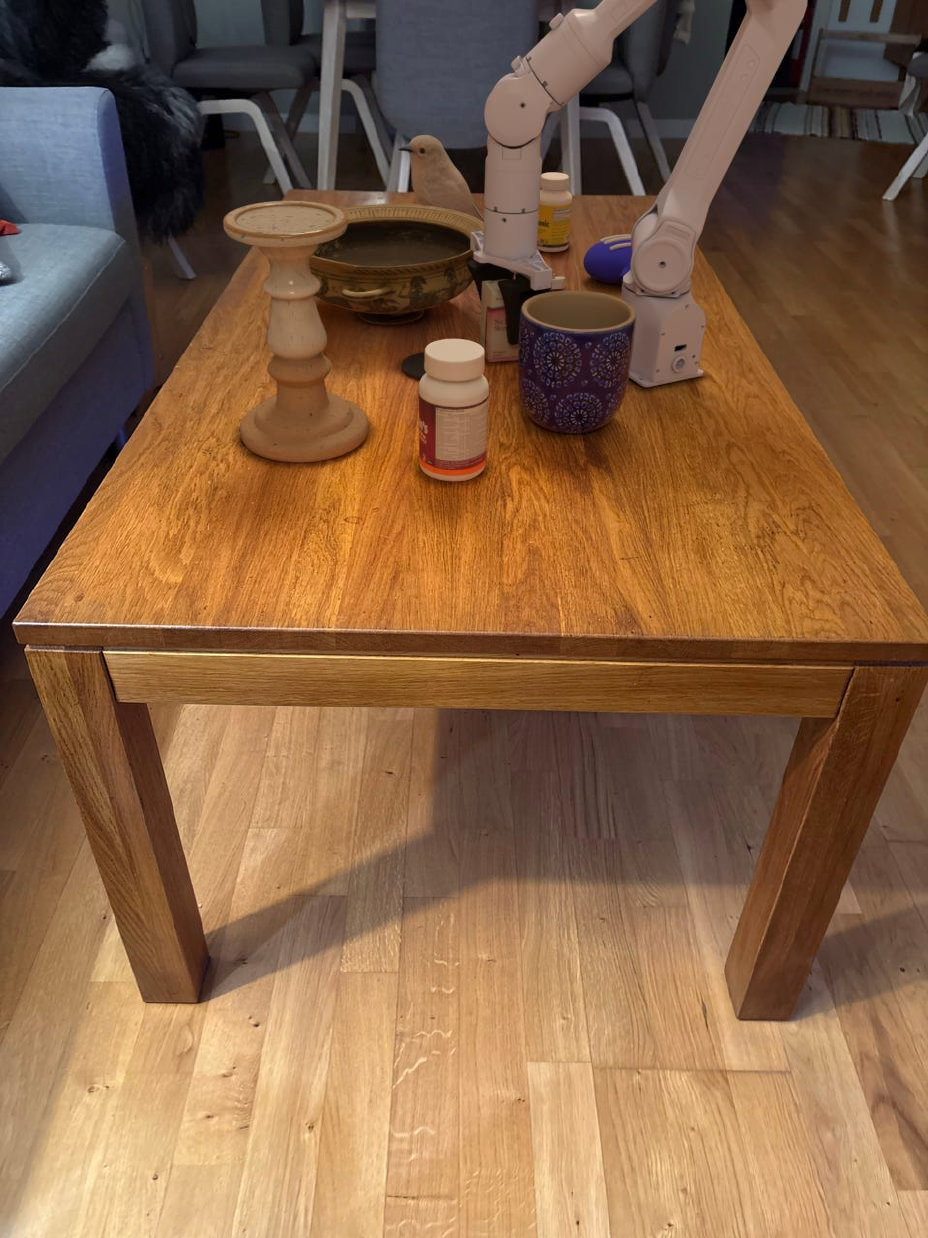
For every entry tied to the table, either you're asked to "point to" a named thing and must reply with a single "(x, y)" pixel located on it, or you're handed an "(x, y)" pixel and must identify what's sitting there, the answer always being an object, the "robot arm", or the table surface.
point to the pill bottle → (453, 410)
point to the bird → (438, 177)
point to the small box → (495, 325)
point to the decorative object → (609, 259)
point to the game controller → (558, 282)
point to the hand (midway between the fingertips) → (505, 333)
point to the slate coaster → (414, 365)
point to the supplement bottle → (554, 213)
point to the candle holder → (296, 337)
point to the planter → (574, 358)
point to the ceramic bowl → (396, 261)
